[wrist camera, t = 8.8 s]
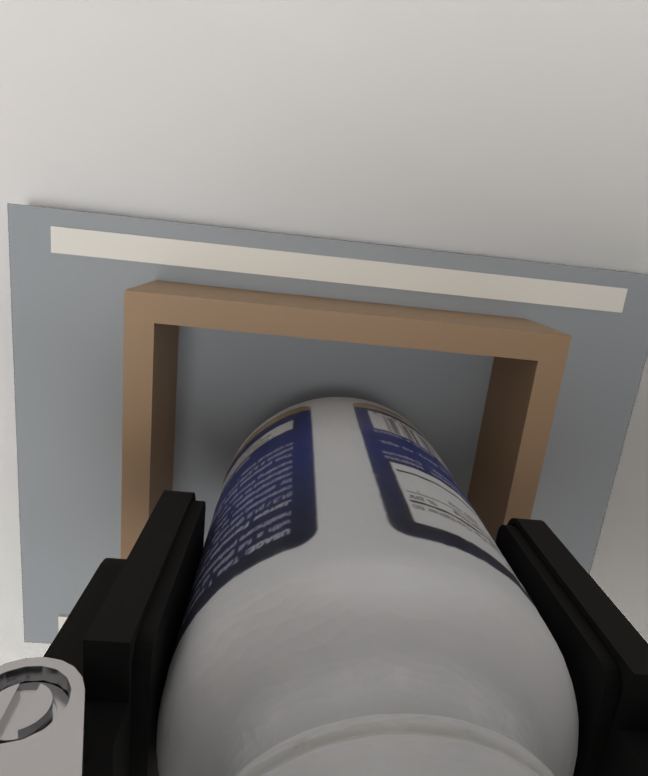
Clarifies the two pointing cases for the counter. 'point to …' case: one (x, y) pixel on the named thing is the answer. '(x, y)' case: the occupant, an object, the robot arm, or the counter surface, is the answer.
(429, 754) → the pill bottle
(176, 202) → the counter surface
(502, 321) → the bay
